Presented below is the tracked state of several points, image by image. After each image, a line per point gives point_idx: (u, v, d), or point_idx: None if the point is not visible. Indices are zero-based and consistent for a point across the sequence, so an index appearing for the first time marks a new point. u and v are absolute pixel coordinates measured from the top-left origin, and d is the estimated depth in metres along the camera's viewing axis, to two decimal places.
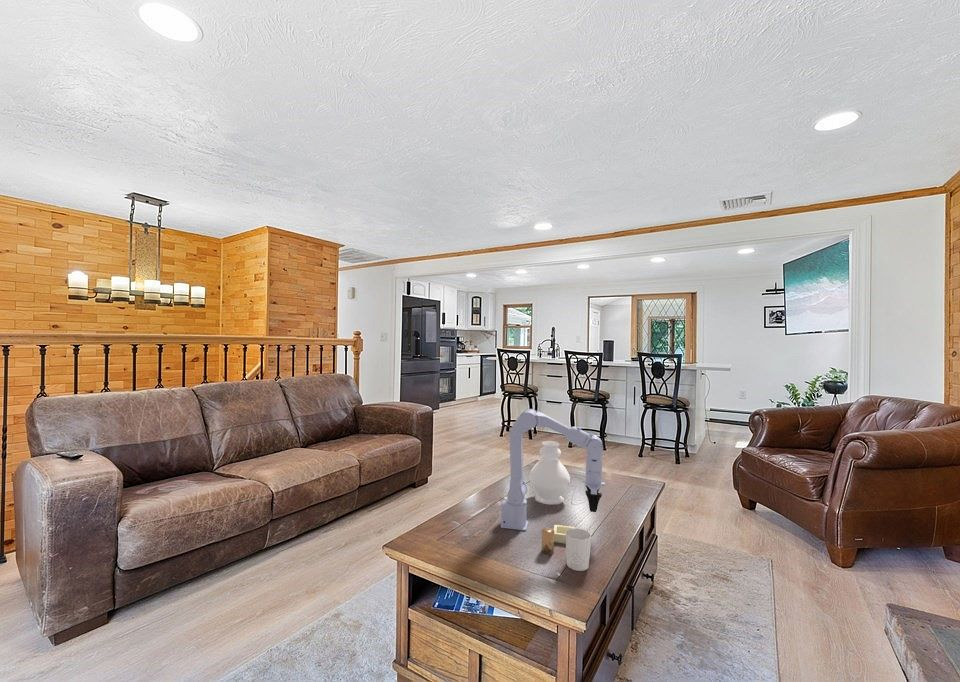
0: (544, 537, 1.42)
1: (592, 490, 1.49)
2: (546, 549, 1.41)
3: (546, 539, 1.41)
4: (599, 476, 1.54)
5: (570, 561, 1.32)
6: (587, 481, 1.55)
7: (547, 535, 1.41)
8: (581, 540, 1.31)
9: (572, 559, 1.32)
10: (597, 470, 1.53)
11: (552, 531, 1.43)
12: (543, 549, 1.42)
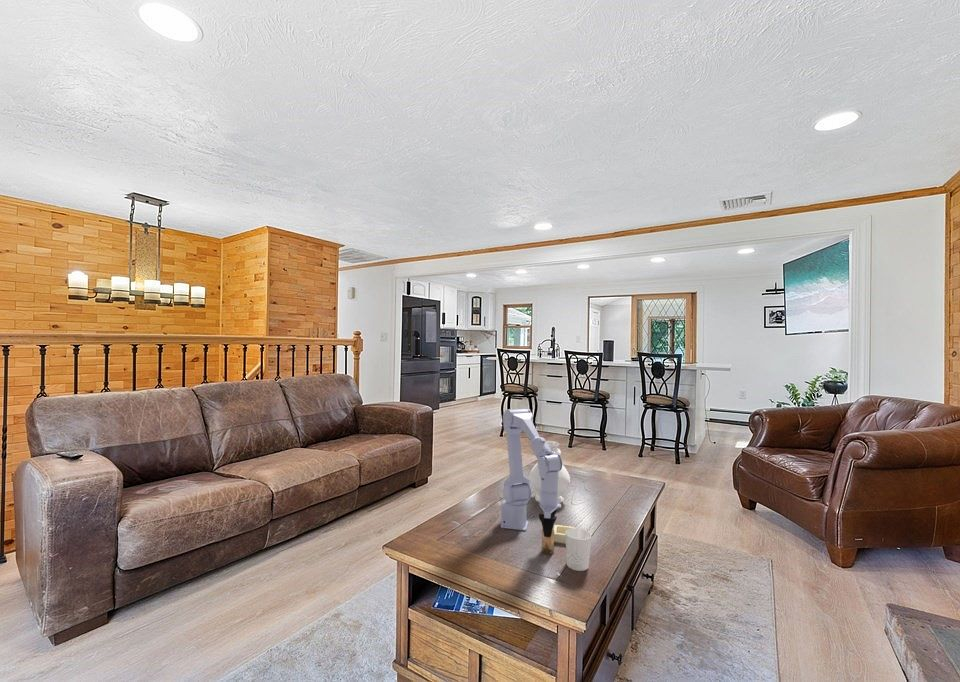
0: (544, 537, 1.42)
1: (545, 513, 1.36)
2: (546, 549, 1.41)
3: (546, 539, 1.41)
4: (554, 497, 1.41)
5: (570, 561, 1.32)
6: (542, 503, 1.42)
7: None
8: (581, 540, 1.31)
9: (572, 559, 1.32)
10: (544, 490, 1.41)
11: (552, 531, 1.43)
12: (543, 549, 1.42)
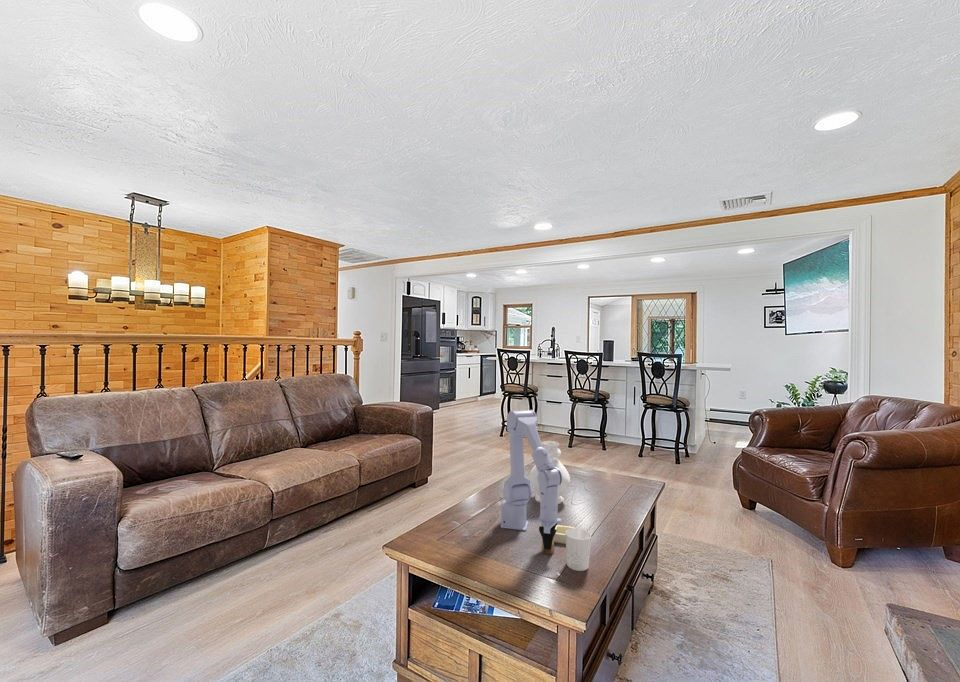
0: None
1: (545, 529, 1.36)
2: (546, 549, 1.41)
3: None
4: (554, 512, 1.41)
5: (570, 561, 1.32)
6: (541, 517, 1.42)
7: None
8: (581, 540, 1.31)
9: (572, 559, 1.32)
10: (544, 505, 1.41)
11: None
12: (543, 549, 1.42)
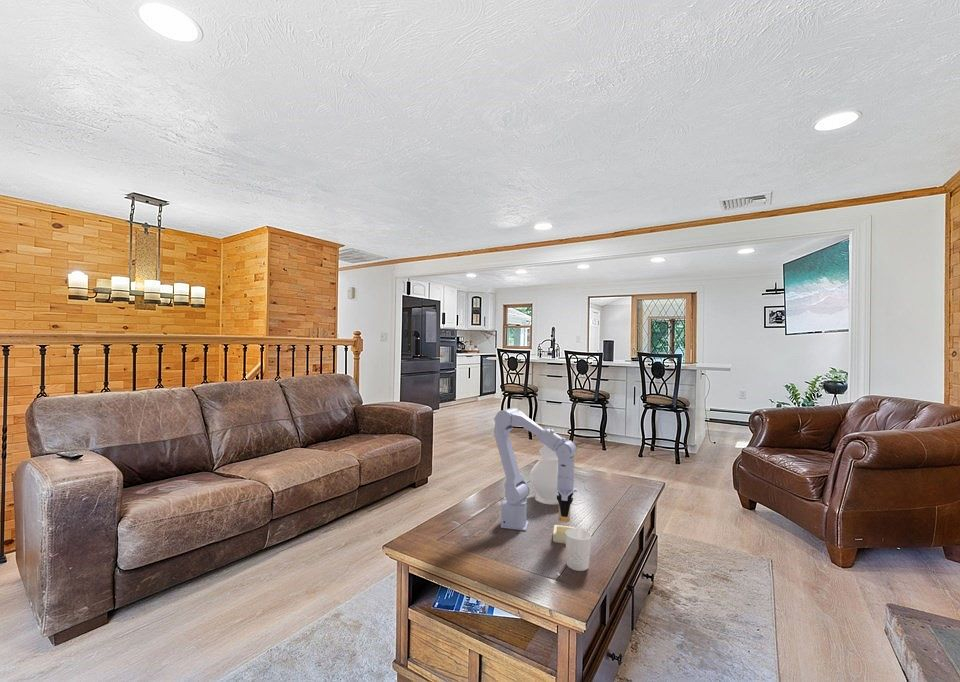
0: None
1: (563, 496, 1.46)
2: (563, 517, 1.51)
3: None
4: (571, 482, 1.50)
5: (570, 561, 1.32)
6: (559, 487, 1.51)
7: None
8: (581, 540, 1.31)
9: (572, 559, 1.32)
10: (566, 476, 1.50)
11: None
12: (560, 518, 1.51)
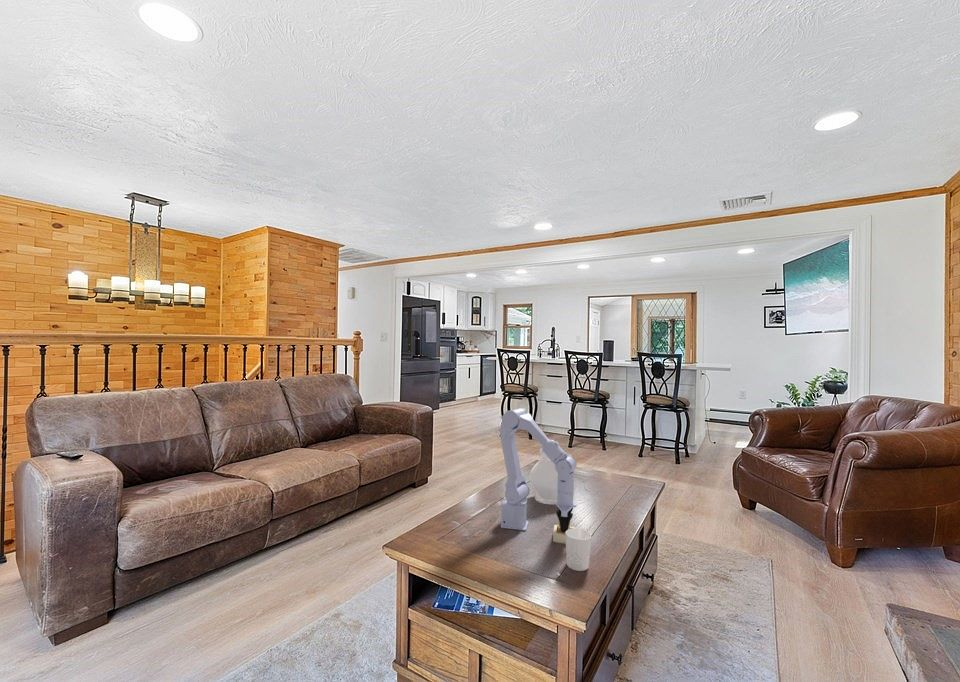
0: None
1: (562, 512, 1.46)
2: (563, 532, 1.51)
3: None
4: (570, 497, 1.50)
5: (570, 561, 1.32)
6: (558, 502, 1.51)
7: None
8: (581, 540, 1.31)
9: (572, 559, 1.32)
10: (566, 491, 1.50)
11: None
12: None
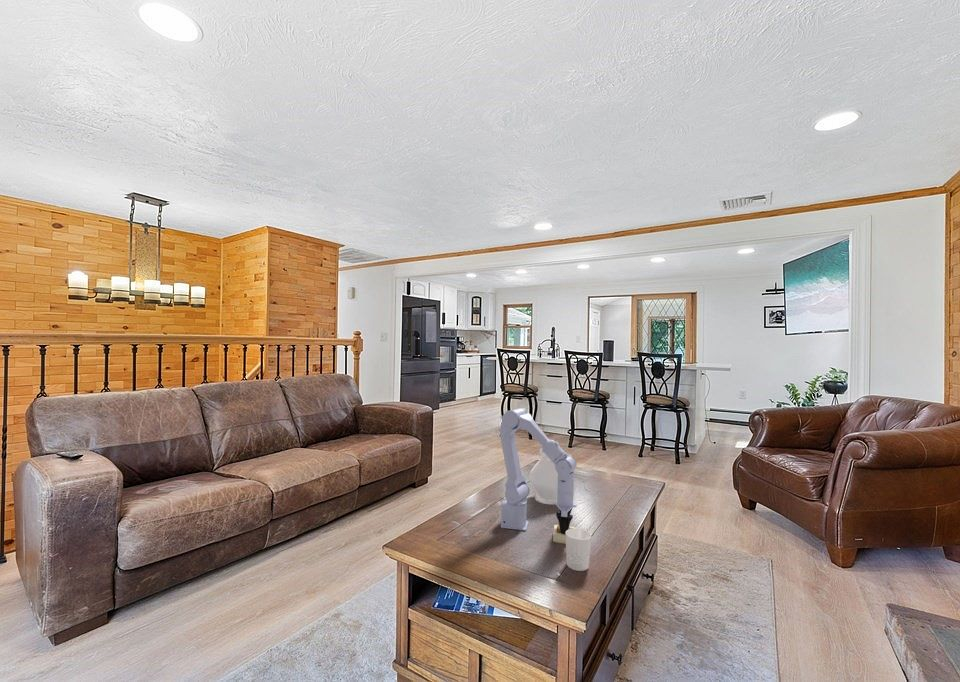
0: None
1: (562, 512, 1.46)
2: None
3: None
4: (570, 497, 1.50)
5: (570, 561, 1.32)
6: (558, 502, 1.51)
7: None
8: (581, 540, 1.31)
9: (572, 559, 1.32)
10: (566, 491, 1.50)
11: None
12: None
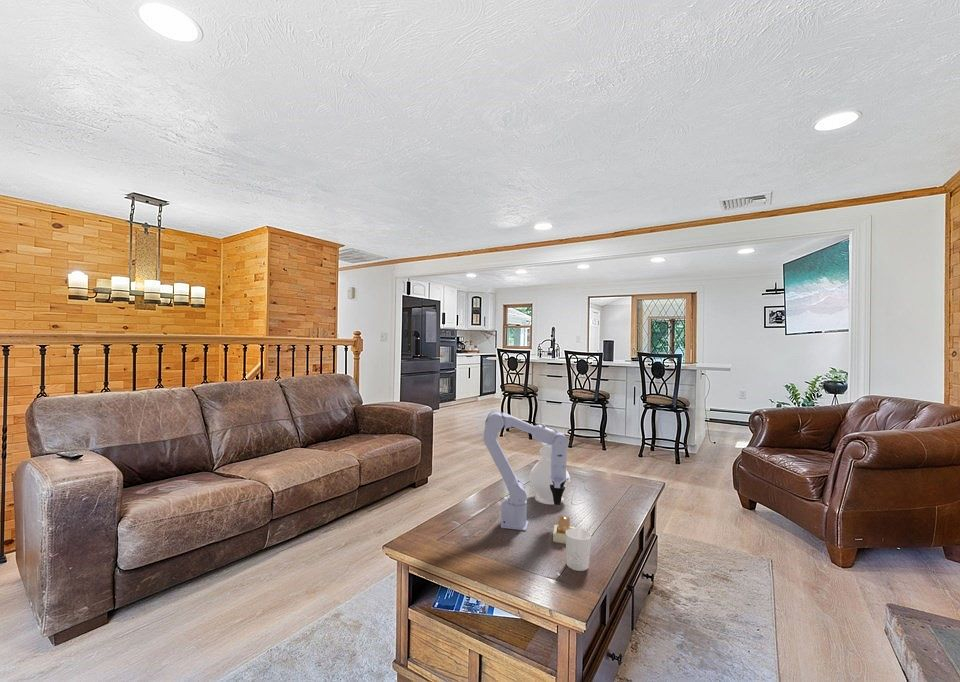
0: (561, 524, 1.51)
1: (555, 484, 1.55)
2: None
3: (563, 525, 1.51)
4: (563, 470, 1.60)
5: (570, 561, 1.32)
6: (552, 475, 1.61)
7: (564, 521, 1.51)
8: (581, 540, 1.31)
9: (572, 559, 1.32)
10: (562, 465, 1.59)
11: (568, 518, 1.52)
12: None
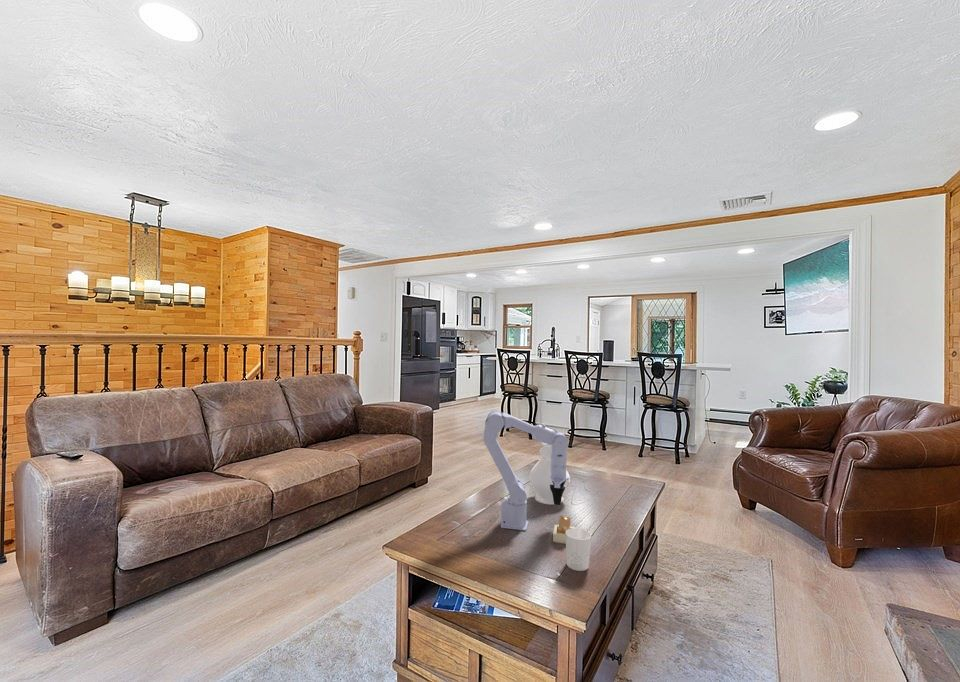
0: (561, 524, 1.51)
1: (555, 484, 1.55)
2: None
3: (563, 526, 1.51)
4: (563, 470, 1.60)
5: (570, 561, 1.32)
6: (552, 475, 1.61)
7: (565, 521, 1.50)
8: (581, 540, 1.31)
9: (572, 559, 1.32)
10: (562, 465, 1.59)
11: (568, 518, 1.52)
12: None
